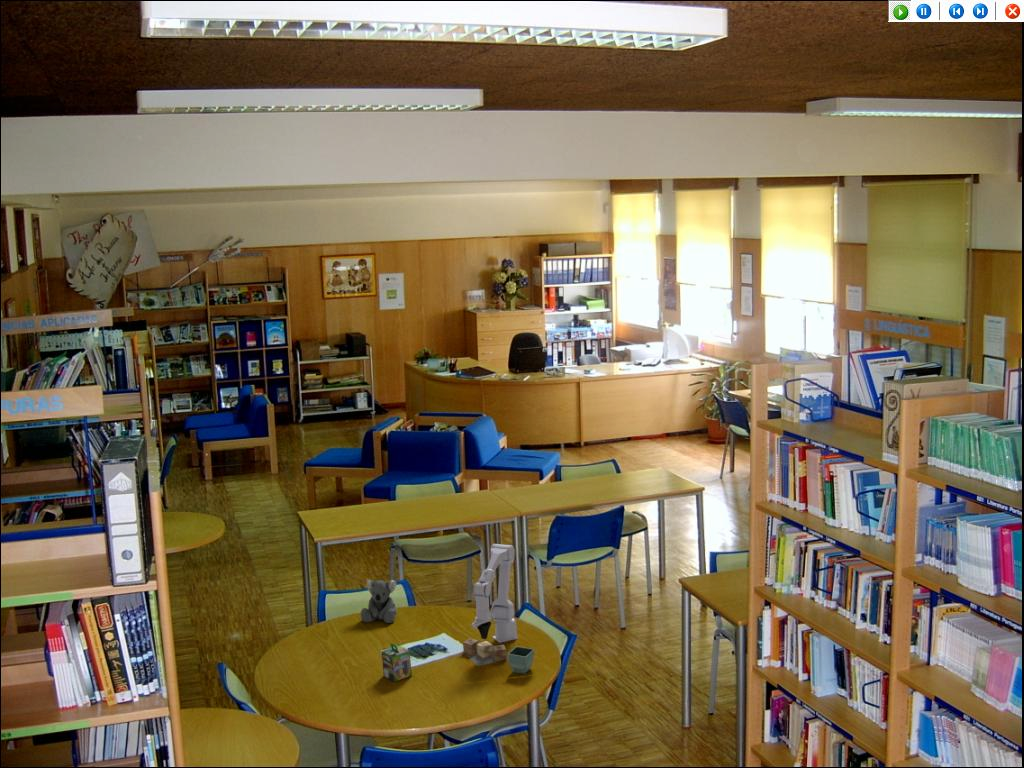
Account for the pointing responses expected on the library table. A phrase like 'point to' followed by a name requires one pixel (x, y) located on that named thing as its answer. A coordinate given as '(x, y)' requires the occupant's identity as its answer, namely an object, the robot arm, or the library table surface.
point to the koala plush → (380, 602)
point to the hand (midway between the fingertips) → (484, 638)
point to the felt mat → (481, 659)
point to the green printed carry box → (396, 663)
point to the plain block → (484, 649)
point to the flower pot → (521, 659)
